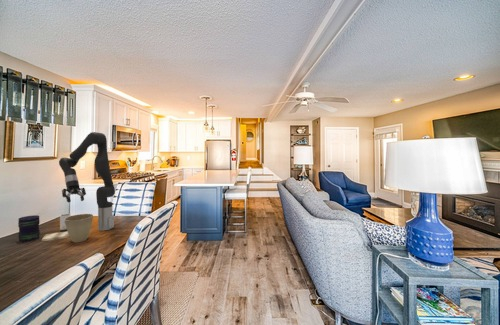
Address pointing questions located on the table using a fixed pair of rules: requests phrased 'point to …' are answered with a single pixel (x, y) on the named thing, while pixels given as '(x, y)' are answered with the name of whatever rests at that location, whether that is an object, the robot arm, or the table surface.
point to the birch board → (55, 236)
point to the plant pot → (79, 226)
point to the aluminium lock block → (63, 222)
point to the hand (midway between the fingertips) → (76, 201)
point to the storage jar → (28, 228)
